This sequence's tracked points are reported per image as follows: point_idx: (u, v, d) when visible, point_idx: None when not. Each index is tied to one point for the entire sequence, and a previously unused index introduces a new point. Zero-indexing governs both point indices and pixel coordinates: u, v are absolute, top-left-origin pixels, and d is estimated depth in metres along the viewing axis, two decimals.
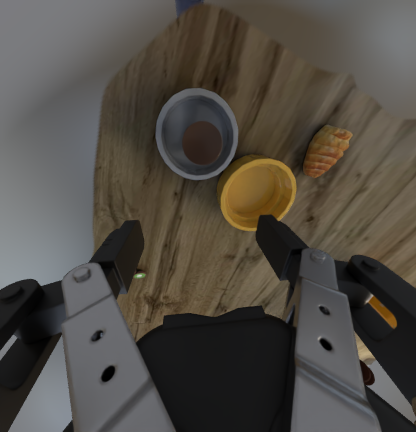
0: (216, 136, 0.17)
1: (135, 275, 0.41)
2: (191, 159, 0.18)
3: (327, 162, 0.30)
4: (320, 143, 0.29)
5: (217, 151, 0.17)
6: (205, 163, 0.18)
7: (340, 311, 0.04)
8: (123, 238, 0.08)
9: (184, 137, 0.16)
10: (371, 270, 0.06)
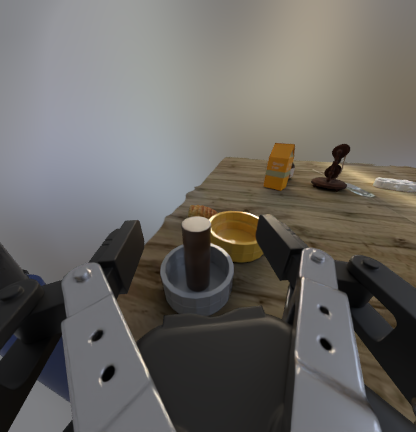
0: (190, 218, 0.25)
1: None
2: (207, 227, 0.23)
3: (207, 208, 0.51)
4: (197, 214, 0.49)
5: (200, 217, 0.25)
6: (209, 221, 0.24)
7: (340, 311, 0.04)
8: (123, 238, 0.08)
9: (191, 230, 0.22)
10: (371, 270, 0.06)
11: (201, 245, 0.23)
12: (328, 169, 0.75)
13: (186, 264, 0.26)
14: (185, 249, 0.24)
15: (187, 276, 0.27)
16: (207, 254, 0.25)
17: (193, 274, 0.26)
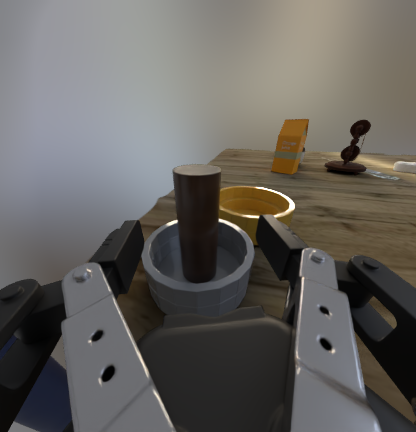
0: (187, 165, 0.16)
1: None
2: (215, 171, 0.13)
3: None
4: None
5: (203, 165, 0.16)
6: (217, 167, 0.15)
7: (340, 311, 0.04)
8: (123, 238, 0.08)
9: (189, 174, 0.13)
10: (371, 270, 0.06)
11: (205, 202, 0.14)
12: (345, 150, 0.66)
13: (181, 240, 0.17)
14: (179, 213, 0.15)
15: (183, 260, 0.18)
16: (214, 222, 0.16)
17: (192, 255, 0.17)
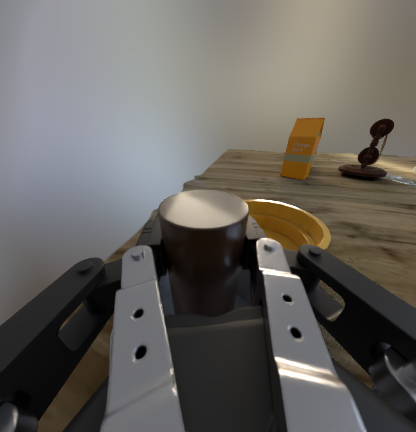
0: (187, 194, 0.09)
1: None
2: (240, 215, 0.07)
3: None
4: None
5: (213, 192, 0.09)
6: (240, 200, 0.08)
7: (299, 294, 0.05)
8: None
9: (189, 225, 0.06)
10: (313, 257, 0.07)
11: (220, 271, 0.07)
12: (363, 152, 0.59)
13: None
14: (172, 280, 0.08)
15: None
16: (233, 293, 0.09)
17: None
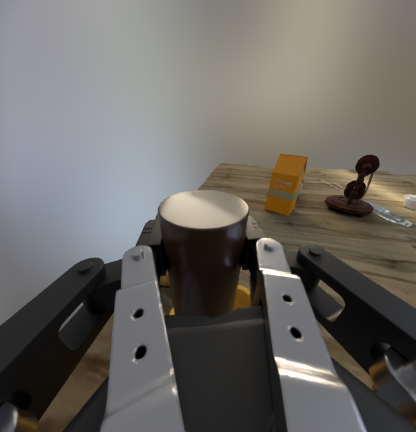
0: (187, 194, 0.09)
1: None
2: (240, 215, 0.07)
3: None
4: (163, 276, 0.31)
5: (213, 192, 0.09)
6: (240, 200, 0.08)
7: (299, 294, 0.05)
8: None
9: (189, 225, 0.06)
10: (313, 257, 0.07)
11: (219, 272, 0.07)
12: (349, 187, 0.57)
13: None
14: (171, 280, 0.08)
15: None
16: (233, 293, 0.09)
17: None
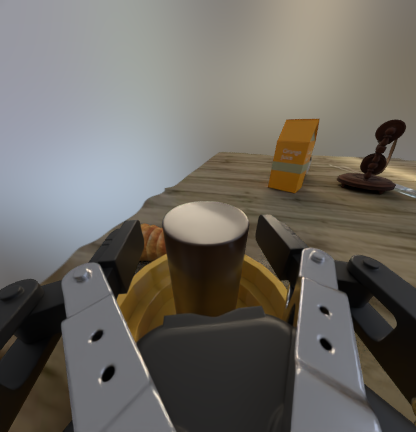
0: (189, 206, 0.09)
1: None
2: (241, 229, 0.07)
3: (158, 233, 0.25)
4: None
5: (215, 204, 0.10)
6: (241, 213, 0.09)
7: (340, 311, 0.04)
8: (123, 238, 0.08)
9: (192, 241, 0.06)
10: (371, 270, 0.06)
11: (221, 283, 0.08)
12: (367, 160, 0.49)
13: None
14: (175, 289, 0.09)
15: None
16: (233, 301, 0.09)
17: None
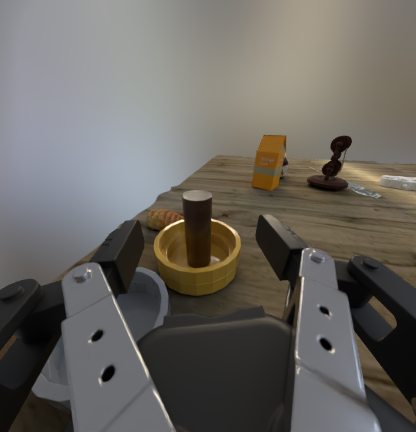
0: (191, 191, 0.24)
1: None
2: (208, 197, 0.22)
3: (171, 214, 0.40)
4: (157, 221, 0.38)
5: (201, 191, 0.25)
6: (210, 193, 0.24)
7: (340, 311, 0.04)
8: (123, 238, 0.08)
9: (192, 200, 0.22)
10: (371, 270, 0.06)
11: (202, 216, 0.23)
12: (326, 165, 0.64)
13: (187, 239, 0.26)
14: (186, 222, 0.24)
15: (187, 252, 0.27)
16: (208, 227, 0.24)
17: (193, 248, 0.26)
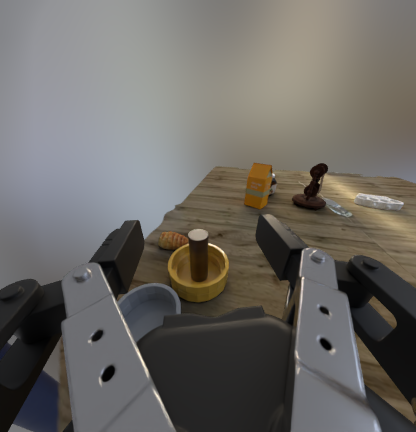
0: (194, 230, 0.36)
1: None
2: (205, 237, 0.34)
3: (177, 236, 0.51)
4: (166, 243, 0.49)
5: (201, 230, 0.36)
6: (207, 233, 0.35)
7: (340, 311, 0.04)
8: (123, 238, 0.08)
9: (195, 239, 0.33)
10: (371, 270, 0.06)
11: (201, 249, 0.34)
12: (307, 188, 0.76)
13: (191, 262, 0.37)
14: (190, 252, 0.35)
15: (191, 271, 0.38)
16: (205, 255, 0.36)
17: (195, 269, 0.37)
